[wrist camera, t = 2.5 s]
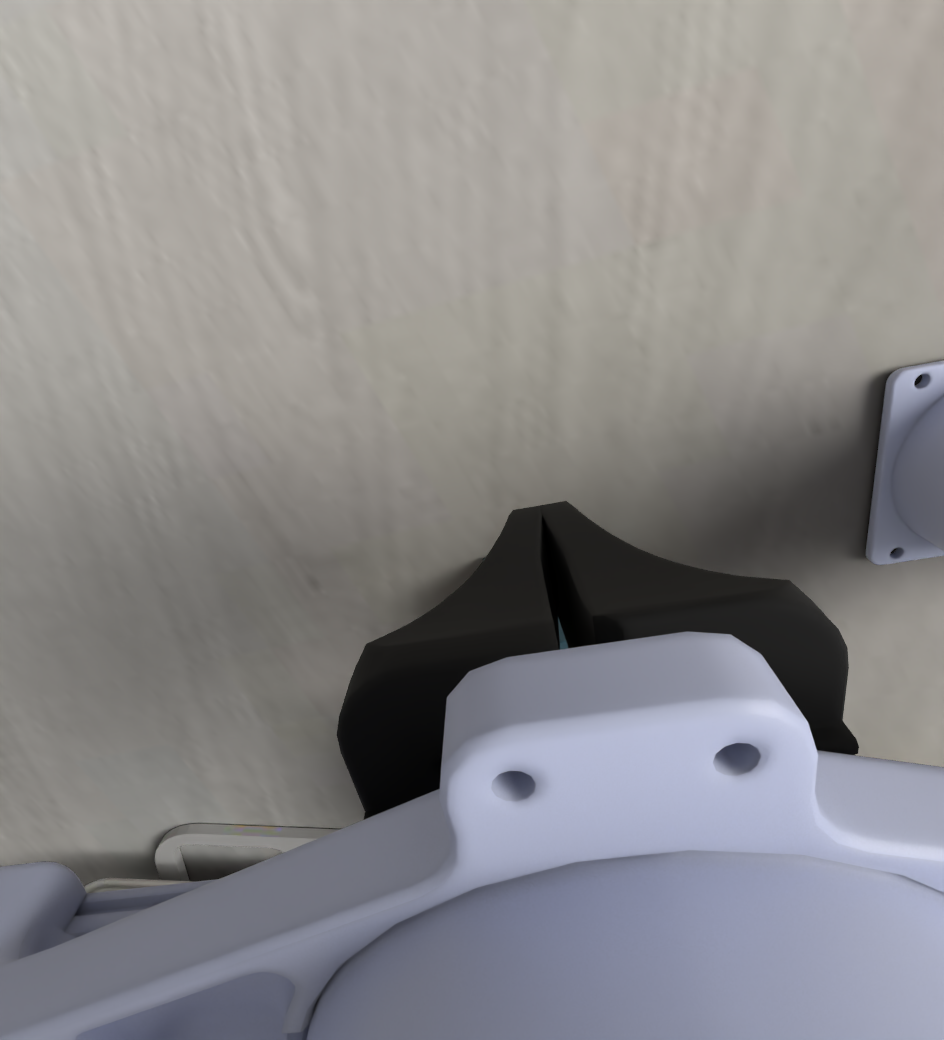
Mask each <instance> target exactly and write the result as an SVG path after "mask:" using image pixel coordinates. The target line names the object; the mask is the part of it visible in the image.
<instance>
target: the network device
mask: <svg viewBox="0 0 944 1040" xmlns="http://www.w3.org/2000/svg"><path fill="white" fill-rule="evenodd" d="M338 830H340V829H316V828H292V827H269V826H245V825H221V824H188V825H183V826H179V827H177V828H174V829H172V830H171V831H169V832H168V833H167V834H166V835H165V836H164V838H163V839H162V841H161V842H160V844H159V846H158V848H157V850H156V852H155V864H156V867H157V870H158V873H159V876H160V879H161V880H146V879H122V878H104V879H100V880H96V881H94V882H91V883H89V884H87V885H85V886H84V888H85V890H86V893H96V892H105V891H114V890H123V889H132V888H142V887H151V886H160V885H169V884H178V883H188V882H193V881H189V877H188V874H187V871H186V867H185V864H184V861H183V857H182V854H181V851H180V847H181V846H184V845H209V846H233V847H256V848H272V849H276V850H279V851H281V852H283V853H284V852H286V851H289V850H291V849H294V848H296V847H299V846H301V845H304V844H306V843H308V842H311V841H313V840H316V839H318V838H321V837H323V836H326V835H328V834H330V833H333V832H335V831H338Z"/></svg>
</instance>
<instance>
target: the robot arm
mask: <svg viewBox="0 0 944 1040" xmlns="http://www.w3.org/2000/svg"><path fill="white" fill-rule="evenodd" d="M921 374H922V380H921V382H920V383H919V384H918V385H914V382H915V379H916V378H917V377H918V376H919V375H921ZM895 548H897V550H896V551H895V552H894V553H891V551H892V550H893V549H895ZM890 553H891V554H890ZM939 556H944V360H943V361H937V362H932V363H926V364H921V365H915V366H910V367H904V368H901V369H898V370H896V371H894V372H893V373H892V374H891V375H890V376H889V378H888V379H887V382H886V387H885V395H884V404H883V412H882V420H881V429H880V437H879V445H878V454H877V462H876V470H875V479H874V487H873V495H872V504H871V512H870V520H869V529H868V537H867V545H866V557H867V558H868V560H870V561H871V562H872V563H873V564H876V565H885V564H892V563H898V562H905V561H912V560H919V559H925V558H932V557H939ZM558 618H559V621H560V624H561V627H562V630H563V633H564V636H565V640H566V643H567V646H568V649H561V650H560V638H559V624H558ZM848 668H849V667H848V651H847V646H846V644H845V642H844V640H843V638H842V635H841V633H840V631H839V629H838V628H837V627H836V626H835V625H834V624H833V623H832V622H831V621H830V620H829V619H828V618H827V617H826V615H825V614H824V613H823V612H822V611H821V610H820V609H819V608H818V607H817V606H816V604H815V603H814V602H813V601H812V600H811V599H810V598H809V597H808V596H806V595H805V594H804V593H803V592H802V591H801V590H800V589H799V588H798V587H796V586H795V585H794V584H793V583H792V582H791V581H790V580H780V579H768V578H756V577H744V576H736V575H730V574H724V573H718V572H712V571H707V570H703V569H698V568H694V567H690V566H686V565H683V564H679V563H676V562H672V561H669V560H666V559H663V558H660V557H658V556H655V555H653V554H650V553H648V552H645V551H643V550H641V549H638V548H636V547H634V546H632V545H630V544H628V543H626V542H624V541H622V540H620V539H619V538H617V537H615V536H613V535H612V534H610V533H608V532H607V531H605V530H604V529H602V528H601V527H599V526H598V525H596V524H595V523H594V522H592V521H591V520H589V519H588V518H587V517H586V516H584V515H583V514H582V513H581V512H579V511H578V510H577V509H576V508H575V507H573V506H572V505H571V504H569V503H568V502H567V501H564V502H558V503H553V504H547V505H541V506H535V507H529V508H523V509H517V510H513V511H512V512H511V513H510V515H509V517H508V519H507V522H506V524H505V526H504V528H503V530H502V532H501V534H500V536H499V538H498V539H497V541H496V543H495V544H494V546H493V548H492V549H491V551H490V552H489V554H488V555H487V557H486V558H485V559H484V561H483V562H482V563H481V565H480V566H479V568H478V569H477V570H476V571H475V573H474V574H473V575H472V576H471V577H470V578H469V579H468V580H467V581H466V582H465V583H464V584H463V585H462V586H461V587H460V588H459V589H457V590H456V591H455V592H454V593H453V594H451V595H450V596H449V597H448V598H446V599H445V600H444V601H443V602H441V603H440V604H439V605H438V606H436V607H435V608H433V609H432V610H430V611H429V612H427V613H426V614H424V615H423V616H421V617H419V618H418V619H416V620H414V621H413V622H411V623H409V624H407V625H406V626H404V627H402V628H400V629H398V630H396V631H393V632H391V633H389V634H387V635H385V636H383V637H381V638H378V639H376V640H374V641H372V642H369V643H367V644H366V645H365V648H364V650H363V653H362V655H361V657H360V659H359V661H358V663H357V665H356V667H355V670H354V672H353V675H352V678H351V680H350V683H349V686H348V690H347V693H346V696H345V699H344V703H343V706H342V709H341V712H340V716H339V722H338V730H337V738H338V742H339V746H340V751H341V754H342V756H343V759H344V761H345V764H346V766H347V769H348V771H349V773H350V776H351V778H352V781H353V783H354V786H355V788H356V791H357V793H358V795H359V798H360V800H361V803H362V805H363V808H364V810H365V816H364V820H362V821H360V822H357V823H355V824H352V825H350V826H347V827H345V828H343V829H340V830H338V831H335V832H333V833H330V834H328V835H326V836H323V837H321V838H318V839H316V840H313V841H311V842H308V843H306V844H304V845H301V846H299V847H296V848H294V849H291V850H289V851H286V852H284V853H282V854H279V855H277V856H274V857H272V858H269V859H267V860H265V861H262V862H260V863H257V864H255V865H252V866H250V867H247V868H245V869H243V870H240V871H238V872H235V873H233V874H230V875H228V876H226V877H223V878H221V879H215V880H206V881H197V882H188V883H178V884H169V885H160V886H151V887H142V888H132V889H123V890H114V891H105V892H96V893H86V890H85V888H84V886H83V884H82V882H81V881H80V879H79V878H78V876H77V875H76V874H75V873H74V872H73V871H72V870H71V869H69V868H68V867H67V866H65V865H62V864H59V863H57V862H46V861H43V862H34V863H26V864H17V865H8V866H0V1040H944V767H939V766H931V765H924V764H916V763H908V762H901V761H893V760H886V759H878V758H871V757H863V756H856V755H855V754H858V748H859V746H858V743H857V740H856V738H855V737H854V736H853V734H852V733H851V732H850V730H849V729H848V728H847V726H846V725H845V724H844V722H843V721H842V719H843V710H844V702H845V693H846V685H847V676H848Z"/></svg>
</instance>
